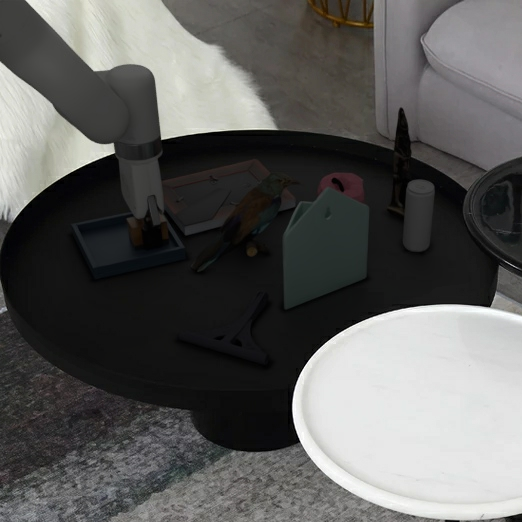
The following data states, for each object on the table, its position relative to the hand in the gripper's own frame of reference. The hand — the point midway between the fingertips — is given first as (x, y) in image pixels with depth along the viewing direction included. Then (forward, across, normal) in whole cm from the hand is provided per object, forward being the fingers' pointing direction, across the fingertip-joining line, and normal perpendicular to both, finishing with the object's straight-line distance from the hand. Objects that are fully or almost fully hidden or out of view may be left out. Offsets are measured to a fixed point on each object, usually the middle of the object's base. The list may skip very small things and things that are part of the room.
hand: (149, 240), depth 171 cm
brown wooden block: (0, 0, 0) cm, 0 cm away
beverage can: (+1, +18, +43) cm, 46 cm away
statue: (+1, +8, +46) cm, 46 cm away
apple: (+1, +6, +34) cm, 34 cm away
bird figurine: (+1, +9, +15) cm, 17 cm away
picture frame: (+1, -9, +16) cm, 19 cm away
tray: (+1, -1, -3) cm, 4 cm away
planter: (+1, +21, +22) cm, 30 cm away
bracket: (+1, +28, +7) cm, 29 cm away
